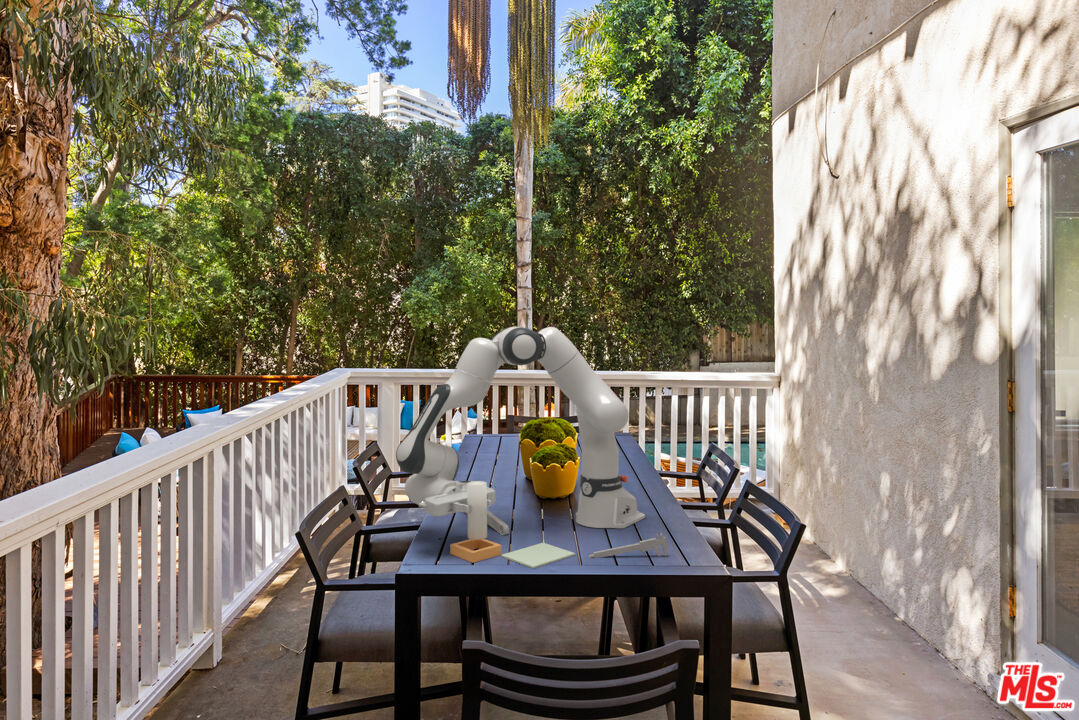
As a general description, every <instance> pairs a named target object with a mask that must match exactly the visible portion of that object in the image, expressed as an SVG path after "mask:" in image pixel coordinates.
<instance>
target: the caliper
mask: <svg viewBox="0 0 1079 720" xmlns="http://www.w3.org/2000/svg"><path fill="white" fill-rule="evenodd" d="M663 535H664V534H663V533H662V532H660V534H658V533H656V537H657V538H656V537H652V538H648V539H645V540H640V541H638V543H637V542H636V543H632V544H627V545H622V546H618V547H612V548H608V549H602V550H597V551H593V553H592V554H589V555H588V558H589V559H591V558H594V559H599V558H600V559H601V558H606V557H609V556H616V555H620V554H626V553H630V552H635V551H639V550H640V552H641V553H644V552H648V551H651V550H652V549H653V550H654V551H655V553H656V555H657V557H659V556H661V551H660V547H659V546H661V547H662V550H663V554H664V556H665V557H667V556H668V542H667V538H666V537H665V536H663Z"/></svg>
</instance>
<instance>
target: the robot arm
mask: <svg viewBox="0 0 1079 720" xmlns="http://www.w3.org/2000/svg"><path fill="white" fill-rule="evenodd" d="M536 361H537V362H539V364H541V365H542V367H543V368H544V370H545V371H546V373H548V375H549V376H550V377H551V379H552V380H553V382H554V383H555V384H556V386H557V387H558V388H559V389H560V391H561V392H562V393H563V394H564V395H565V397H567V398H568V399H569V400H570V401H571V402H572V403H573V405H575V407H574V408H575V413H576V416H577V422H578V423H577V424H578V432H579V439H580V445H581V474H580V476H579V477H580V478H579V486H580V490H579V496H578V505H577V511H576V512H575V522H576V523H577V524H578V525H581V526H584V527H588V528H594V529H595V528H596V529H624V528H627V527H629V526H632V525H633V524H635V523H637V522H640V521H641V520H644V519H645V518H646V515H645V513H643V512H641V511H639V510H638V502H637V499H636V497H635V496H634V495H632V494H631V493H630V492H629V491H628V490H627V489H625V488H624V487H623V483H628V481H629V477H628V475H623V474H621V475H620V474H619V471H620V470H619V469H620V467H619V466H620V465H619V464H620V463H619V462H620V461H619V460H620V459H619V457H620V450H619V446H618V443H617V440H616V435H615V433H616V432H620V431H621V430H623V429H624V428H625V427H626V425H627V423H628V421H629V410H628V407H627V405H625V403H624V402H623V401H622V400H621V399H620V397H618V396H617V394H616V393H615V392H614V391H613V390H612V389H611V387H610V386H609V385H608V384H607V383H606V382H605V381H604V380H603V379H602V378H601V377H600V376H599V375H598V374H597V373H596V371H594V370H593V368H592V367H591V365H589V363H588V361H586V359H585V358H584V356H583V355H582V353H581V352H580V351H579V350H578V349H577V347H576V346H575V345H574V344H573V342H572V341H571V340H570V339H569V338H568V337H567V336H566V335H565V334H564V333H563V332H562V331H561V330H559V329H558V328H557V327H554V326H548V327H545V328H542V329H541V330H539V331H534V330H532V329H530V328H527V327H521V326H510V327H506V328H502V329H501V330H500V331H498V332H497V333H496V334H495V335H494V336H492V337H491V338H484V337H476V338H473V339H471V340H470V341H469V343H468V344H467V345H466V347H465V349H464V350H463V352H462V354H461V356H460V357H459V360H458V361H457V363H456V366H455V368H454V371H453V373H452V375H451V376H450V377H449V379H447V380H446V382H444V383H443V384H440V385H438V386H437V387H436V388H435V389H434V391H433V392H432V393H431V395H430V397H429V398H428V400H427V401H426V403H425V405H424V406H423V408H422V409H421V412H420V414H419V415H418V416H417V418H416V420H415V422H414V423H413V425H412V427H411V428H410V430H409V432H408V433H407V434H406V435H405V436H404V437H403V439H402V441H400V443H399V444H398V446H397V449H396V451H395V458H396V462H397V464H398V467H399V468H400V470H401V471H402V472H404V473H405V474H406V473H408V474H412V475H409V477H408V478H407V479H406V481H405V484H404V491H405V494H406V496H407V498H408V499H409V500H410V502H412V503H414V504H416V505H418V507H419V508H422V509H424V511H425V513H426V514H428V515H430V516H433V517H436V518H437V517H444V516H448V515H453V514H455V513H456V514H457V513H465V514H467V513H468V512H471V511H472V509H471V508H472V506H471V505H469V504H467V483H469V482H473V480H461V481H460V480H458V481H457V480H455V479H456V477H457V475H458V472H459V468H460V458H459V455H458V452H457V450H456V449H455V448H454V447H451V446H449V445H446V444H441V443H438V442H434V441H432V440H429V439H430V437H431V435H432V434H433V432H434V430H435V429H436V426H437V425H438V423H439V422H440V420H441V417H443V416H444V415H445V413H446V412H448V411H451V410H453V409H457V408H467V407H473V406H475V405H478V404H479V403H481V402H482V401H483V400H484V399H485V398H486V396H487V394H488V392H489V390H490V388H491V385H492V383H493V381H494V378H495V374H496V373H497V371H498V370H499V368H500V367H501V366H502V365H504V364H508V365H511V366H526V365H530V364H532V363H533V362H536ZM496 497H497V495H496V490H495V489H494V488H493V487H489V486H487V509H488V508H491V507H492V504H495V503H496Z"/></svg>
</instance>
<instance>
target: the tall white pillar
mask: <svg viewBox="0 0 1079 720" xmlns="http://www.w3.org/2000/svg"><path fill="white" fill-rule="evenodd" d="M472 481H473V480H472ZM487 483H488V482H486V481H484V480H482V481H481V480H475V481H473V482H469V483H467V504H469V505H471V506H472V508H471V509H472V511H471V512H468V515H467V538H468V540H469V539H473V540H480V539H486V538H488V524H487V510H488V508H487V487H488V484H487Z"/></svg>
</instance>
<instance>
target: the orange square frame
mask: <svg viewBox="0 0 1079 720" xmlns="http://www.w3.org/2000/svg"><path fill="white" fill-rule="evenodd" d="M449 546H450V547H449V548H450V549H449V555H453V556H455V557H458V558H459V559H463V560H464V561H468V562H470V563H473V564H474V563H478V562H480V561H484V560H487V559H488V560H489V559H491V558H495V557H498V556H501V555H502V544H499V543H497V542H494V541H491V540H488V539H486V538H485V539H480V540H473V539H469V538H468V539H465V540H462V541H457V542H454V543H451V544H449ZM475 549H476V550H475Z"/></svg>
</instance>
